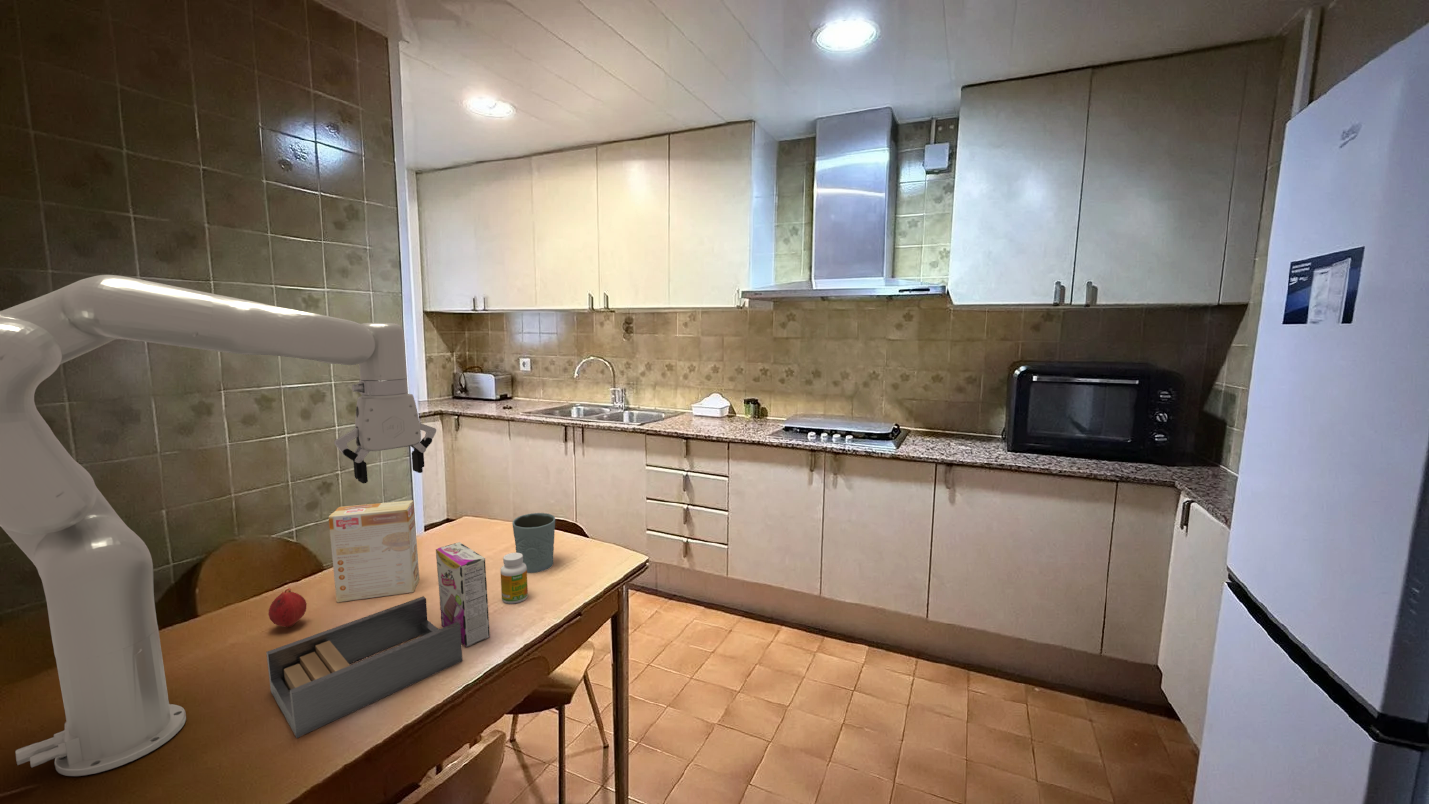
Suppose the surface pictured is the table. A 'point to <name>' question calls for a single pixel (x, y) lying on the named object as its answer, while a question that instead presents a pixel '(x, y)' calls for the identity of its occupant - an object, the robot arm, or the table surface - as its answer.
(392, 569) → the coffeecake box
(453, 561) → the candy bar box
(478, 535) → the table surface
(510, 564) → the supplement bottle
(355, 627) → the rack
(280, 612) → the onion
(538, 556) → the grey green cup
